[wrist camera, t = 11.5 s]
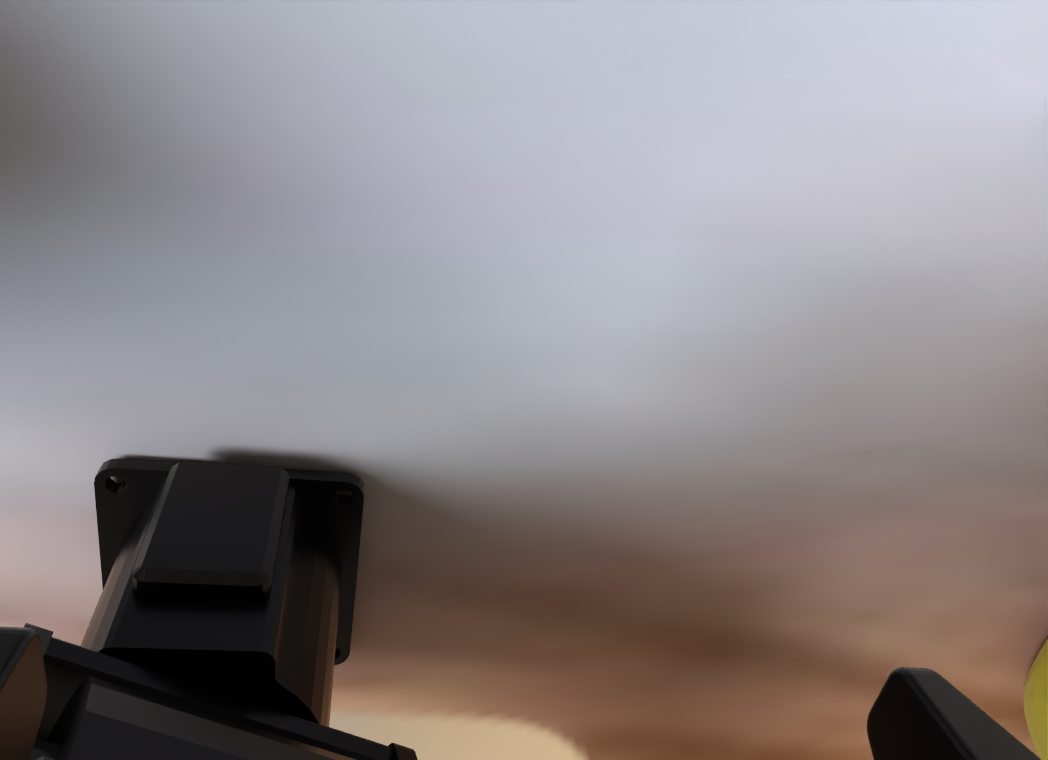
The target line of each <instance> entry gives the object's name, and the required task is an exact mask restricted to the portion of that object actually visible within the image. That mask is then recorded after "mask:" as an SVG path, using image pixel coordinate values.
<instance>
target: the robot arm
mask: <svg viewBox="0 0 1048 760" xmlns="http://www.w3.org/2000/svg"><path fill="white" fill-rule="evenodd" d="M112 476H117V477H121V478H122V479H124V480H125V481H126V483H117V482H114V481H113V480H112V479H111V478H110V477H112ZM94 487H95V499H96V511H97V523H98V535H99V547H100V559H101V571H102V583H103V592H102V594H101V597H100V599H99V602H98V604H97V607H96V609H95V612H94V614H93V617H92V619H91V621H90V624H89V626H88V629H87V631H86V634H85V636H84V639H83V641H82V644H81V646H78V645H75V644H71V643H68V642H65V641H62V640H59V639H56V638H53V637H52V634H53V632H52V631H49V630H46V629H43V628H40V627H37V626H34V625H31V624H28V623H26V624H25V626H24V627H23V628H22V627H0V760H417V756H416V753H415V751H414V750H413V749H410V748H407V747H404V746H401V745H398V744H395V743H391V744H390V745H389V746H386V745H382V744H379V743H376V742H373V741H370V740H367V739H364V738H361V737H358V736H355V735H352V734H349V733H345V732H343V731H339V730H336V729H333V728H330V727H329V720H330V708H331V697H332V685H333V673H334V665H338V664H340V663H342V662H344V661H345V660H346V659H347V658H348V656H349V653H350V643H351V632H352V622H353V611H354V600H355V589H356V578H357V567H358V556H359V545H360V534H361V523H362V513H363V502H364V484H363V482H362V481H361V479H360V478H359V477H357V476H356V475H354V474H350V473H345V472H329V471H313V470H297V469H282V468H280V467H270V466H254V465H238V464H222V463H205V462H189V461H181V462H167V461H151V460H135V459H111V460H108V461H106V462H104V463H103V465H102V466H101V467H100V469H99V471H98V473H97V475H96V477H95V482H94ZM344 489H345V490H348V491H350V492H352V494H351V495H349V496H341V495H339V494H338V493H336V492H338V491H339V490H344ZM336 647H337V648H336ZM867 733H868V739H869V743H870V747H871V750H872V754H873V758H874V760H1041V759H1040V758H1039V757H1038V756H1036V755H1035V754H1034V753H1033V752H1032V751H1030V750H1029V749H1028V748H1027V747H1026V746H1024V745H1023V744H1022V743H1021V742H1020V741H1018V740H1017V739H1016V738H1015V737H1014V736H1012V735H1011V734H1010V733H1009V732H1008V731H1006V730H1005V729H1004V728H1003V727H1002V726H1000V725H999V724H998V723H997V722H996V721H994V720H993V719H992V718H991V717H990V716H989V715H987V714H986V713H985V712H984V711H983V710H981V709H980V708H979V707H978V706H977V705H975V704H974V703H973V702H972V701H971V700H969V699H968V698H967V697H966V696H965V695H963V694H962V693H961V692H960V691H959V690H957V689H956V688H955V687H954V686H953V685H951V684H950V683H949V682H948V681H947V680H945V679H944V678H943V677H942V676H941V675H939V674H938V673H937V672H935V671H933V670H930V669H926V668H908V667H901V668H897V669H895V670H894V671H892V672H891V674H890V675H889V677H888V679H887V681H886V682H885V684H884V686H883V688H882V690H881V692H880V694H879V695H878V697H877V699H876V701H875V703H874V705H873V707H872V708H871V710H870V712H869V715H868V720H867Z"/></svg>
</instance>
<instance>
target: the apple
mask: <svg viewBox="0 0 1048 760" xmlns="http://www.w3.org/2000/svg"><path fill="white" fill-rule="evenodd" d="M1024 713H1025V718H1026V721H1027V725H1028V729H1029V732H1030V736H1031V739H1032V742H1033V745H1034V747H1035V750H1036V753H1037V755H1038V757H1039V758H1040V759H1041V760H1048V639H1047V640H1046V641H1045V643H1044V645H1043V647H1042V648H1041V650H1040V652H1039V654H1038V655H1037V657H1036V659H1035V661H1034V663H1033V665H1032V667H1031V669H1030V671H1029V673H1028V675H1027V679H1026V683H1025V686H1024Z"/></svg>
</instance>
